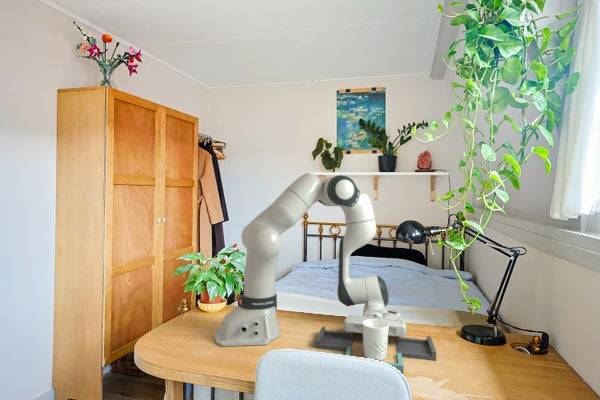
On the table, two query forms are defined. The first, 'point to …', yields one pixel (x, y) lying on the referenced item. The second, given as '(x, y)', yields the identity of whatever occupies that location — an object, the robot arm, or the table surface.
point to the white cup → (375, 338)
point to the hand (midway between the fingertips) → (374, 334)
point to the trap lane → (403, 346)
